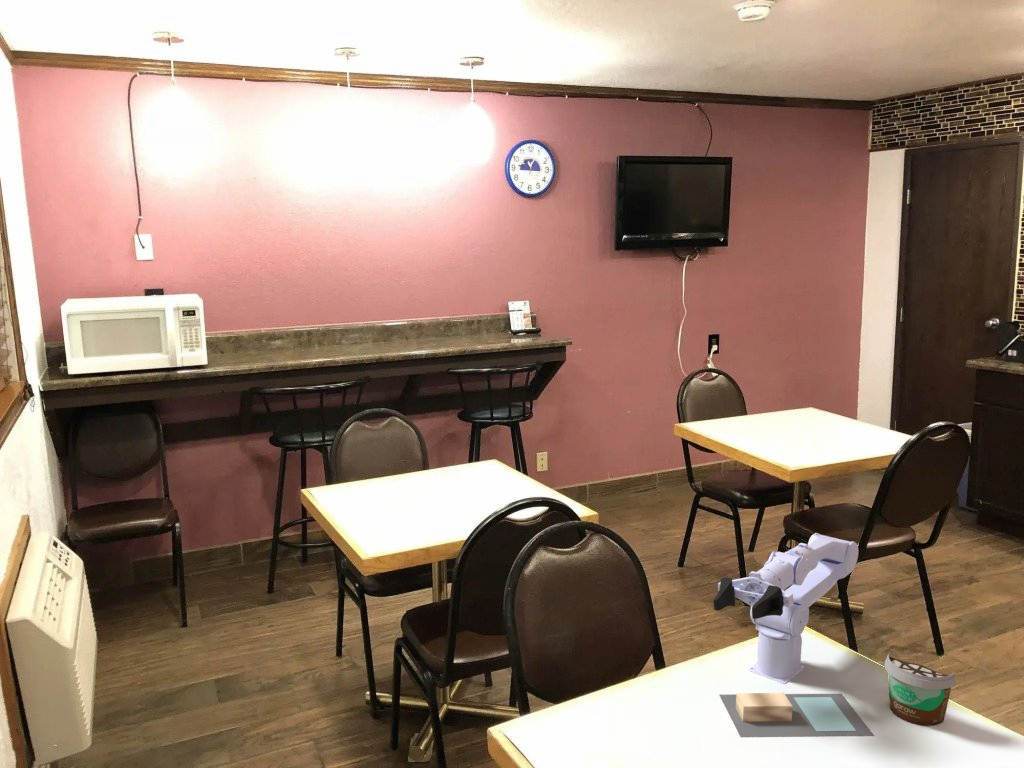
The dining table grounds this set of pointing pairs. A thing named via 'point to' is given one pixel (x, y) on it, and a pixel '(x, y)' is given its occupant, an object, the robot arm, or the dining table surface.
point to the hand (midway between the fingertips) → (734, 609)
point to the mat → (804, 718)
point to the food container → (918, 692)
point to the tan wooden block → (763, 707)
